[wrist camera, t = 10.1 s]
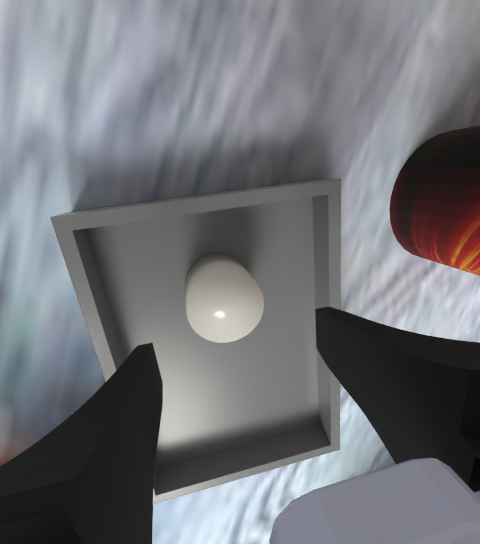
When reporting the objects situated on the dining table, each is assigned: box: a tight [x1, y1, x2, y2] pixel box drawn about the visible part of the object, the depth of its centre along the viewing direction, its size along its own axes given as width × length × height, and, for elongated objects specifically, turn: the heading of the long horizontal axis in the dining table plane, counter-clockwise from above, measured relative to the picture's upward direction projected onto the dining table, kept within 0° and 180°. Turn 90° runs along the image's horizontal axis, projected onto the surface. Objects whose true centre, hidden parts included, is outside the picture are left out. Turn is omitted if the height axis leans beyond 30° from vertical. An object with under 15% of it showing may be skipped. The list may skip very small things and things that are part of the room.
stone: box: [185, 253, 264, 343], centre depth 18 cm, size 4×4×4 cm
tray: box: [50, 179, 341, 504], centre depth 20 cm, size 22×16×3 cm
